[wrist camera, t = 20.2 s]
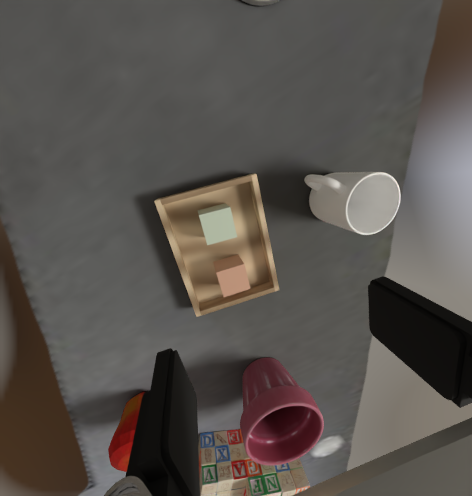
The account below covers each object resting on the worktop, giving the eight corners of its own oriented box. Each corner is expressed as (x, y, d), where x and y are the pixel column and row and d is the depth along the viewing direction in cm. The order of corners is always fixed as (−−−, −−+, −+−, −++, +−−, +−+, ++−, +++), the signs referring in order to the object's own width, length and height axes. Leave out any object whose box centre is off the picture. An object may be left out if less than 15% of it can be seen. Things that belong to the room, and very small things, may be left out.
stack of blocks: (196, 451, 53) (199, 528, 41) (199, 432, 51) (203, 506, 40) (281, 441, 58) (303, 507, 46) (286, 423, 56) (311, 487, 45)
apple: (116, 413, 45) (93, 490, 34) (131, 380, 43) (111, 451, 32) (159, 418, 47) (150, 492, 36) (174, 388, 46) (170, 456, 35)
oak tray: (157, 198, 34) (154, 201, 31) (251, 173, 36) (256, 173, 33) (196, 307, 41) (196, 316, 38) (273, 282, 43) (279, 289, 40)
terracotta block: (213, 261, 38) (216, 272, 34) (238, 254, 39) (244, 263, 35) (220, 284, 40) (223, 297, 36) (244, 276, 40) (250, 288, 36)
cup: (334, 228, 42) (377, 244, 32) (281, 199, 38) (312, 207, 28) (359, 186, 40) (411, 190, 31) (306, 152, 36) (347, 144, 27)
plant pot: (226, 355, 46) (240, 419, 34) (291, 339, 48) (325, 395, 36) (234, 405, 51) (248, 477, 39) (293, 389, 53) (324, 452, 41)
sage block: (197, 210, 35) (198, 215, 31) (225, 203, 36) (230, 207, 31) (205, 237, 37) (207, 245, 32) (231, 229, 37) (237, 237, 33)
